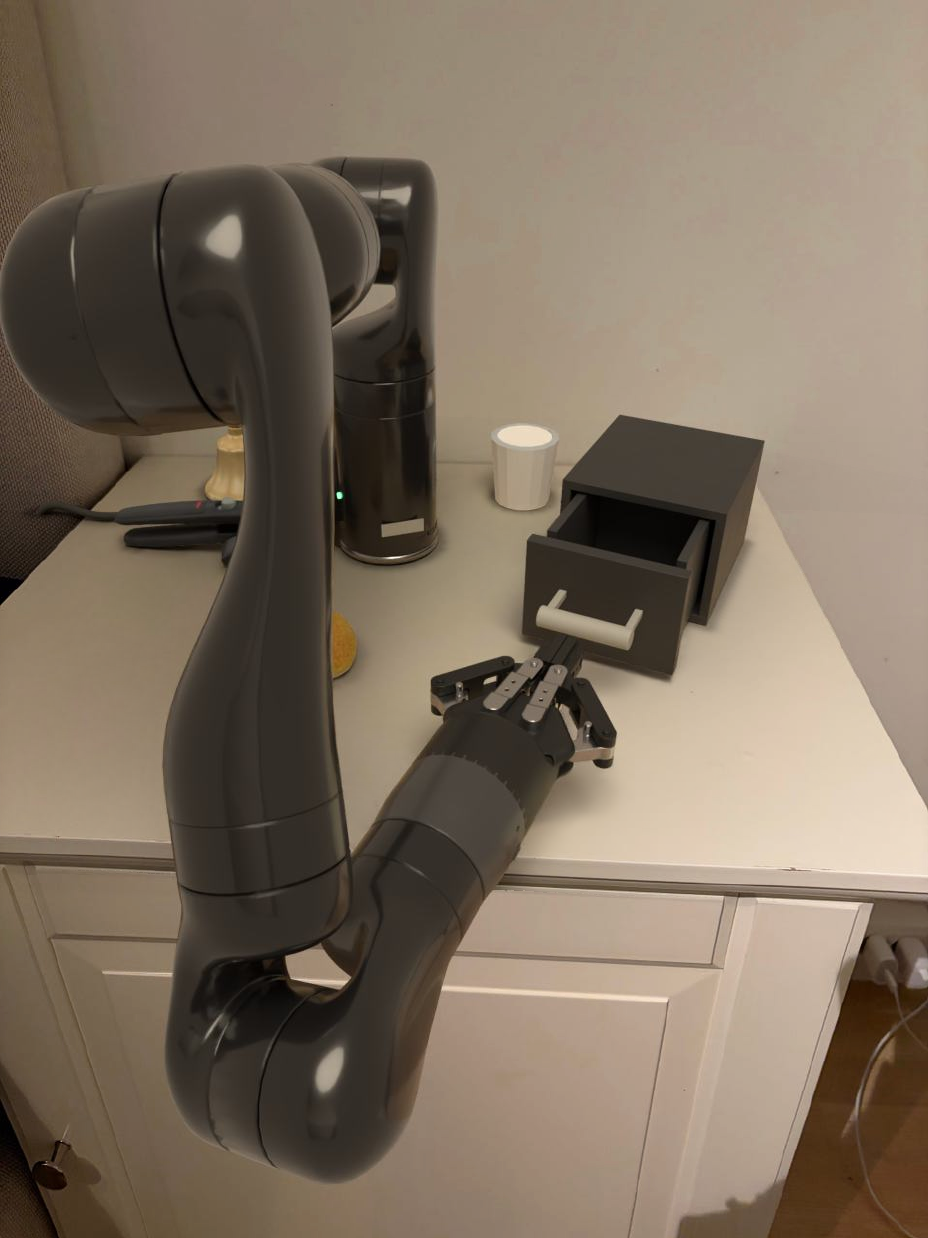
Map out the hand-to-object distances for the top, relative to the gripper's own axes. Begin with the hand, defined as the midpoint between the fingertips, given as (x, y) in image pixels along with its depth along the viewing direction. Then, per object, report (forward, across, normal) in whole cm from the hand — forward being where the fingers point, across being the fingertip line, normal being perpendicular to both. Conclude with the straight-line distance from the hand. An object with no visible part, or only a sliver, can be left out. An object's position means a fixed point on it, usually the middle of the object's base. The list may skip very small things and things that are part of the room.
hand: (567, 645), depth 64 cm
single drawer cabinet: (+24, 0, +6) cm, 25 cm away
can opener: (+8, +38, +7) cm, 39 cm away
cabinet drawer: (+12, 0, +6) cm, 13 cm away
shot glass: (+31, +16, +7) cm, 36 cm away
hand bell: (+20, +43, +7) cm, 48 cm away
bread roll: (-3, +21, +7) cm, 22 cm away
